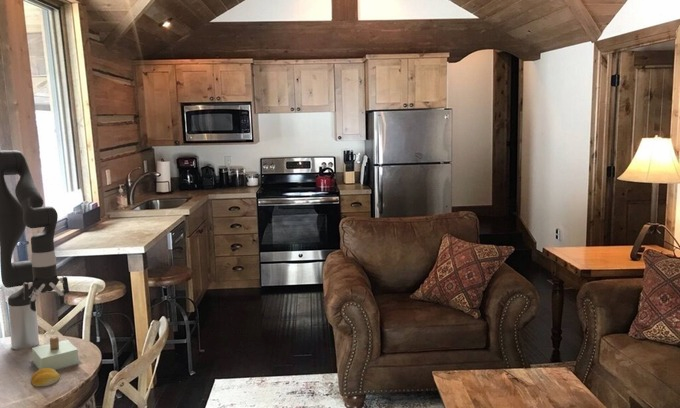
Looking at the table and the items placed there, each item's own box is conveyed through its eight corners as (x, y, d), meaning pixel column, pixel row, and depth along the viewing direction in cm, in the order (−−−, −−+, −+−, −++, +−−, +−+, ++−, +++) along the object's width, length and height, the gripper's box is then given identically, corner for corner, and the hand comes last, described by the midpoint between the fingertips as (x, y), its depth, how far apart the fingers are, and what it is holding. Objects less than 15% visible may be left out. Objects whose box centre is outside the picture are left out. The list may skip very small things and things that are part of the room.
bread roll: (35, 390, 177) (34, 379, 176) (29, 380, 184) (28, 369, 183) (63, 383, 182) (62, 371, 182) (56, 373, 189) (55, 362, 189)
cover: (33, 362, 196) (31, 337, 195) (68, 353, 204) (66, 329, 203) (42, 373, 188) (40, 347, 187) (78, 363, 196) (76, 338, 194)
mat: (28, 362, 197) (28, 361, 197) (70, 352, 206) (70, 351, 206) (39, 376, 186) (39, 375, 186) (82, 364, 196) (82, 363, 196)
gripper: (62, 258, 200) (65, 301, 202) (18, 265, 190) (22, 310, 192) (69, 262, 194) (72, 306, 196) (23, 268, 185) (27, 315, 187)
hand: (47, 308), depth 194 cm, fingers open, 8 cm apart
